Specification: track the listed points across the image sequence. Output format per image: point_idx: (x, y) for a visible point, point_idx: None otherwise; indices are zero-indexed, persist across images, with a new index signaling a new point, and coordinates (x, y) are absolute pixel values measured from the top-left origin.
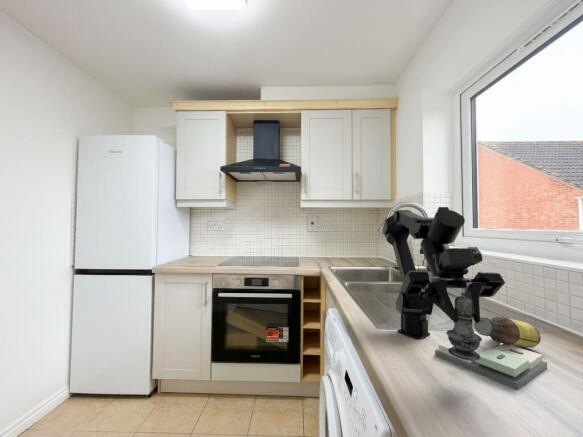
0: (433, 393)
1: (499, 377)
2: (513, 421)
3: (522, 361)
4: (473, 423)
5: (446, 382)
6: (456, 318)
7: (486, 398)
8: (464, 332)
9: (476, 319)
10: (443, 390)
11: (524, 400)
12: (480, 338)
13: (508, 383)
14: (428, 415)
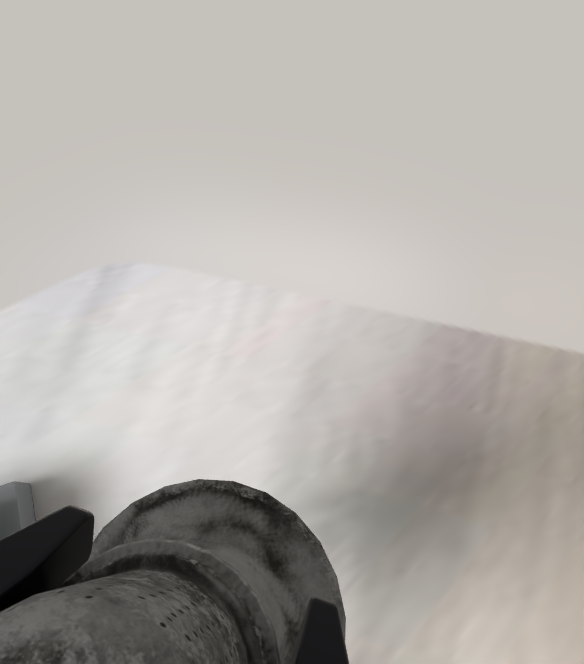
0: (457, 564)
1: None
2: (274, 334)
3: None
4: (432, 359)
5: None
6: (330, 611)
7: (239, 468)
8: (252, 564)
9: (78, 545)
10: (388, 574)
11: (92, 417)
12: (129, 516)
13: (29, 520)
14: (580, 435)
